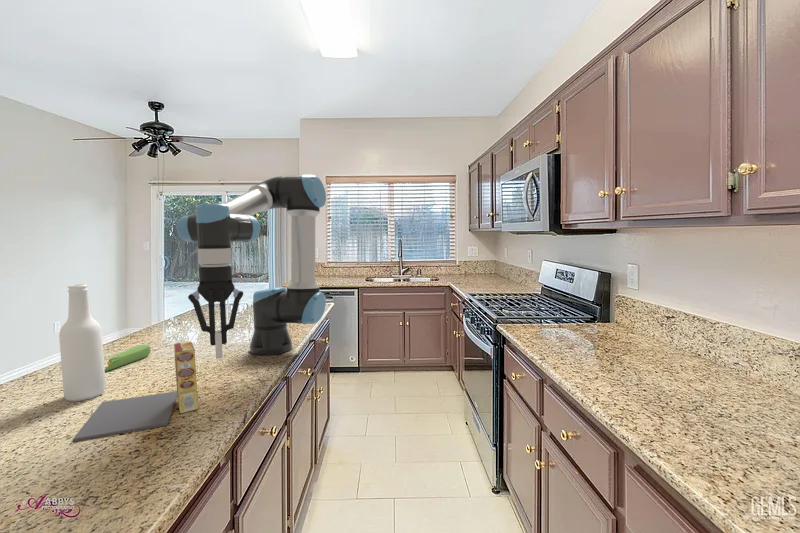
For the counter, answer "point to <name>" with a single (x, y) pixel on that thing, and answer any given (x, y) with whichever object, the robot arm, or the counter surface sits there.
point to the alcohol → (81, 349)
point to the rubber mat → (129, 415)
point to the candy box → (186, 376)
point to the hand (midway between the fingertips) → (219, 356)
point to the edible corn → (128, 356)
